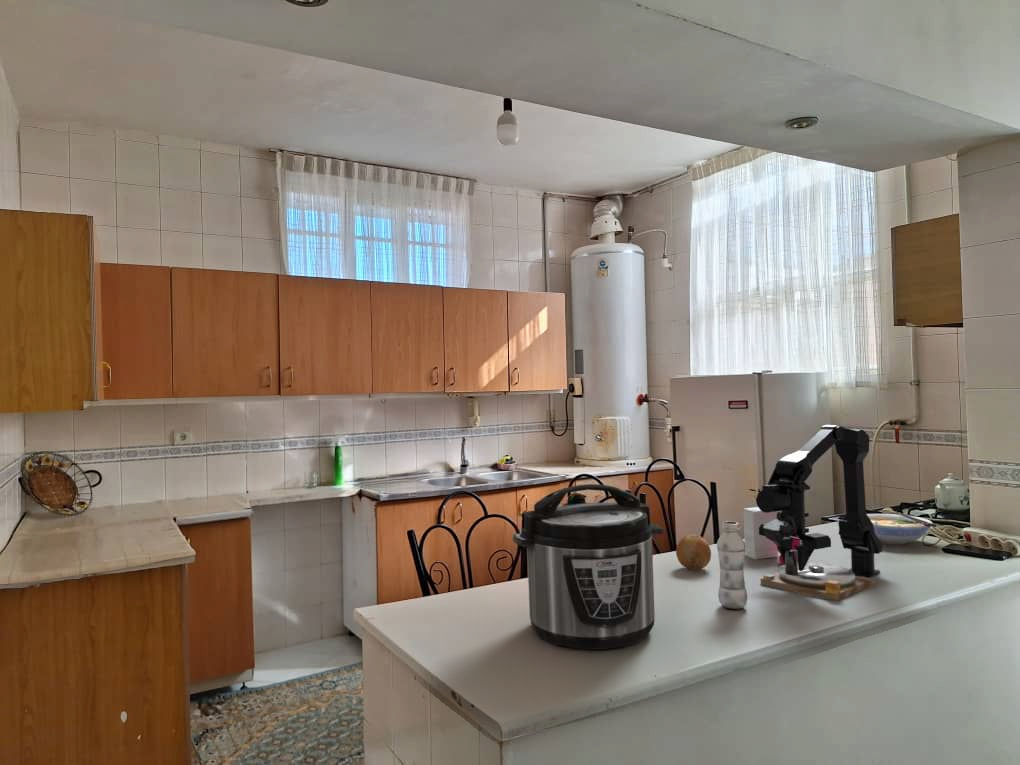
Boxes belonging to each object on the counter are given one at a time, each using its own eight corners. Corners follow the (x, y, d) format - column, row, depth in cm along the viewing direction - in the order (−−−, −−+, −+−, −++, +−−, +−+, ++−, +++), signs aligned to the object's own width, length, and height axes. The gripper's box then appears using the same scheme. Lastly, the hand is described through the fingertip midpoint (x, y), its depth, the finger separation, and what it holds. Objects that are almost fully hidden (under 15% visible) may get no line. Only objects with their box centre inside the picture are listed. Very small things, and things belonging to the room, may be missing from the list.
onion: (707, 565, 201) (707, 530, 202) (714, 574, 192) (713, 538, 192) (674, 564, 202) (673, 530, 203) (679, 573, 193) (678, 538, 193)
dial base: (799, 570, 193) (799, 556, 193) (873, 584, 178) (872, 569, 178) (760, 584, 181) (760, 569, 181) (836, 601, 165) (835, 584, 165)
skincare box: (767, 553, 214) (766, 505, 214) (779, 557, 208) (778, 508, 208) (743, 555, 212) (742, 507, 212) (754, 559, 206) (753, 510, 206)
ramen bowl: (842, 534, 239) (841, 510, 239) (912, 534, 236) (912, 510, 236) (870, 550, 214) (869, 524, 214) (949, 551, 211) (948, 525, 211)
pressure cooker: (501, 647, 141) (498, 492, 141) (545, 605, 167) (542, 475, 167) (648, 665, 130) (644, 497, 130) (670, 618, 156) (667, 478, 156)
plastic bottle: (733, 613, 158) (731, 526, 158) (712, 605, 164) (710, 521, 164) (753, 609, 161) (751, 523, 161) (732, 601, 167) (730, 519, 167)
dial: (821, 566, 190) (820, 538, 190) (871, 583, 173) (870, 552, 173) (765, 572, 186) (764, 543, 186) (810, 590, 168) (809, 559, 168)
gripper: (742, 505, 182) (743, 564, 182) (799, 518, 165) (800, 582, 165) (773, 501, 186) (774, 558, 187) (832, 513, 169) (833, 576, 170)
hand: (794, 568), depth 177 cm, fingers open, 4 cm apart
